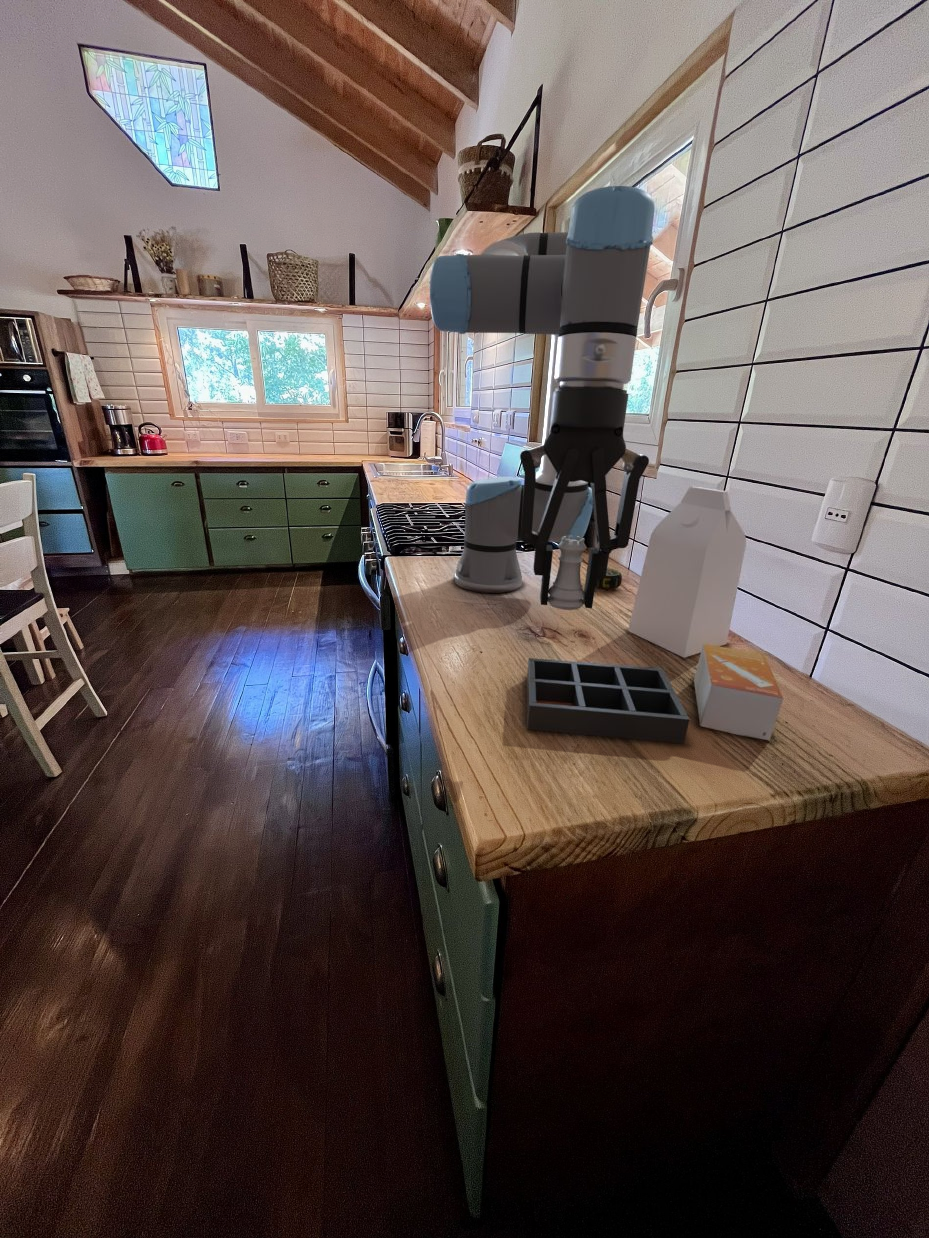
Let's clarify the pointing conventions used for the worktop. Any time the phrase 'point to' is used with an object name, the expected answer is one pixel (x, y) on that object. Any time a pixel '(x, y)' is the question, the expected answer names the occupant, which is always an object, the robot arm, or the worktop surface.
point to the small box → (736, 692)
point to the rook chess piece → (568, 576)
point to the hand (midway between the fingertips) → (565, 602)
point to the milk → (690, 575)
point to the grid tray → (604, 701)
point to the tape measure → (610, 580)
